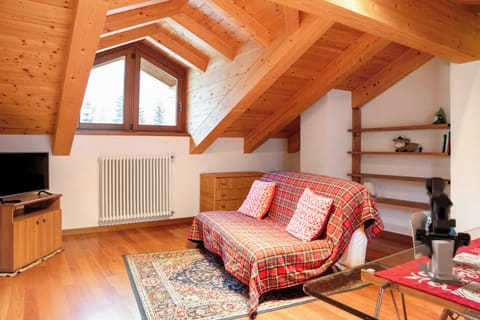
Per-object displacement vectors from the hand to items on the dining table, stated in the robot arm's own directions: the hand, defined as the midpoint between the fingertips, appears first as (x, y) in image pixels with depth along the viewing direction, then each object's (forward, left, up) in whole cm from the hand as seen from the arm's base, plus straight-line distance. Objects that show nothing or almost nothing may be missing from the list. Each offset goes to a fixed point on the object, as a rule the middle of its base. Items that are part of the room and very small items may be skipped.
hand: (442, 256), depth 130 cm
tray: (-6, 0, -9) cm, 11 cm away
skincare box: (-1, 0, -7) cm, 7 cm away
